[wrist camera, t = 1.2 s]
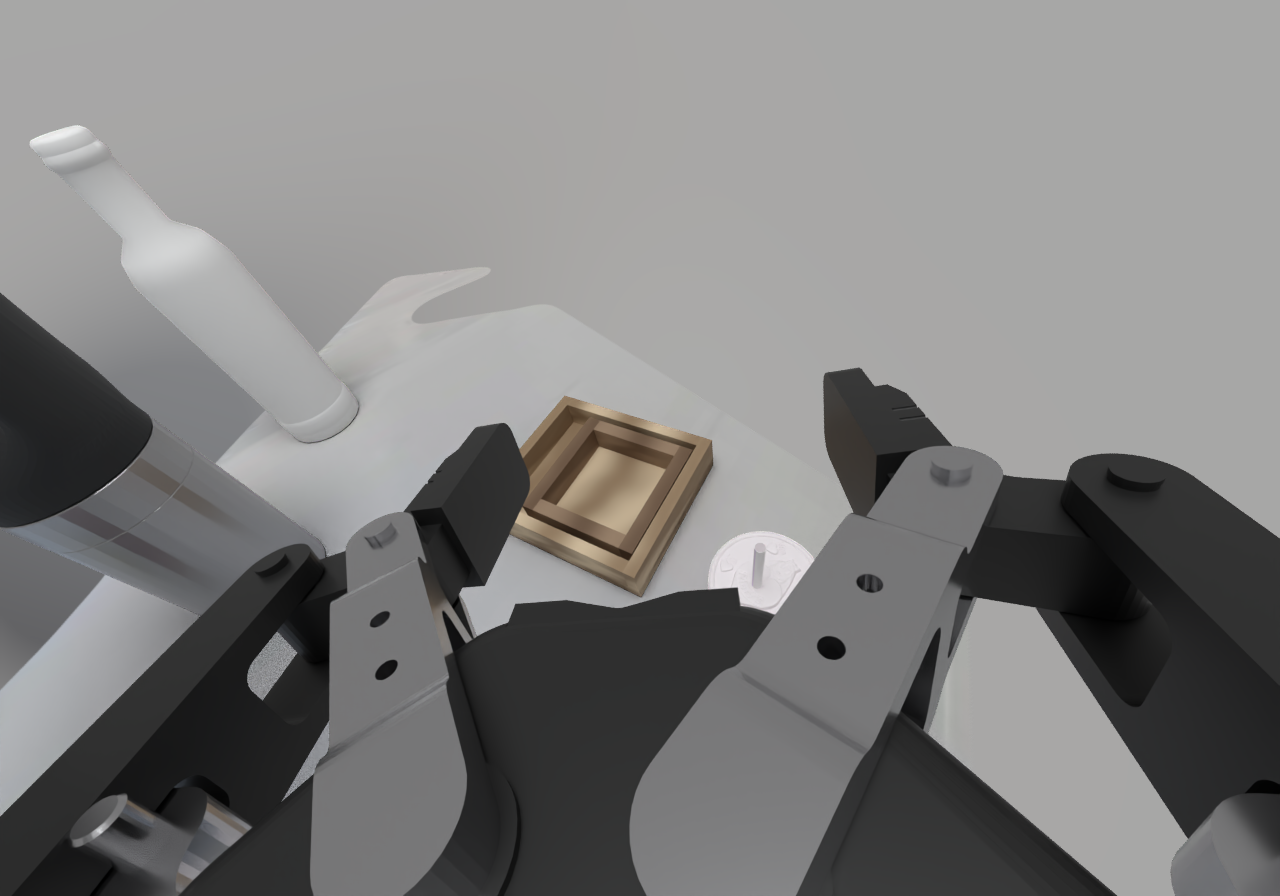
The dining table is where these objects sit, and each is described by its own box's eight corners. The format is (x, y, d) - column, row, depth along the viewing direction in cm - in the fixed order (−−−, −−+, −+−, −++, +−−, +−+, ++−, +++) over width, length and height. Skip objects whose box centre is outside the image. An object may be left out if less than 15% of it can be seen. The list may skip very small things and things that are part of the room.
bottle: (361, 387, 60) (132, 106, 37) (360, 428, 55) (94, 131, 32) (297, 410, 59) (21, 135, 36) (289, 453, 54) (-37, 165, 31)
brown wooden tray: (489, 524, 43) (473, 503, 41) (573, 419, 50) (564, 395, 48) (641, 597, 37) (634, 577, 34) (713, 464, 44) (711, 440, 41)
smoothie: (696, 618, 35) (681, 520, 24) (770, 579, 36) (786, 469, 25) (743, 705, 31) (749, 633, 20) (825, 659, 32) (872, 567, 21)
